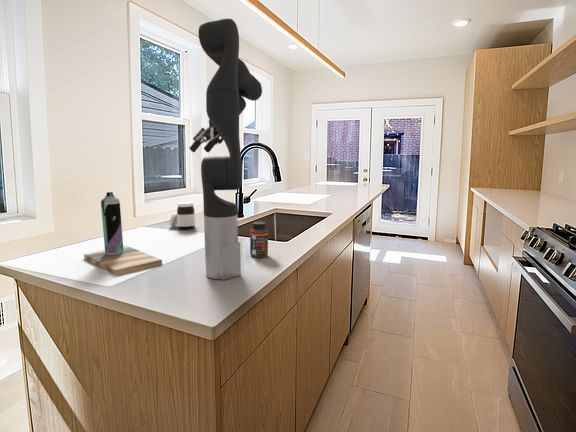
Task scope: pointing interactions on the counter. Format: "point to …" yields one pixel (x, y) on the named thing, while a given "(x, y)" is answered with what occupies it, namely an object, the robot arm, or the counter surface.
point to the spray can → (112, 224)
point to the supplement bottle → (259, 240)
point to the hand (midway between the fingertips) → (198, 150)
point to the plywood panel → (123, 260)
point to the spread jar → (184, 216)
